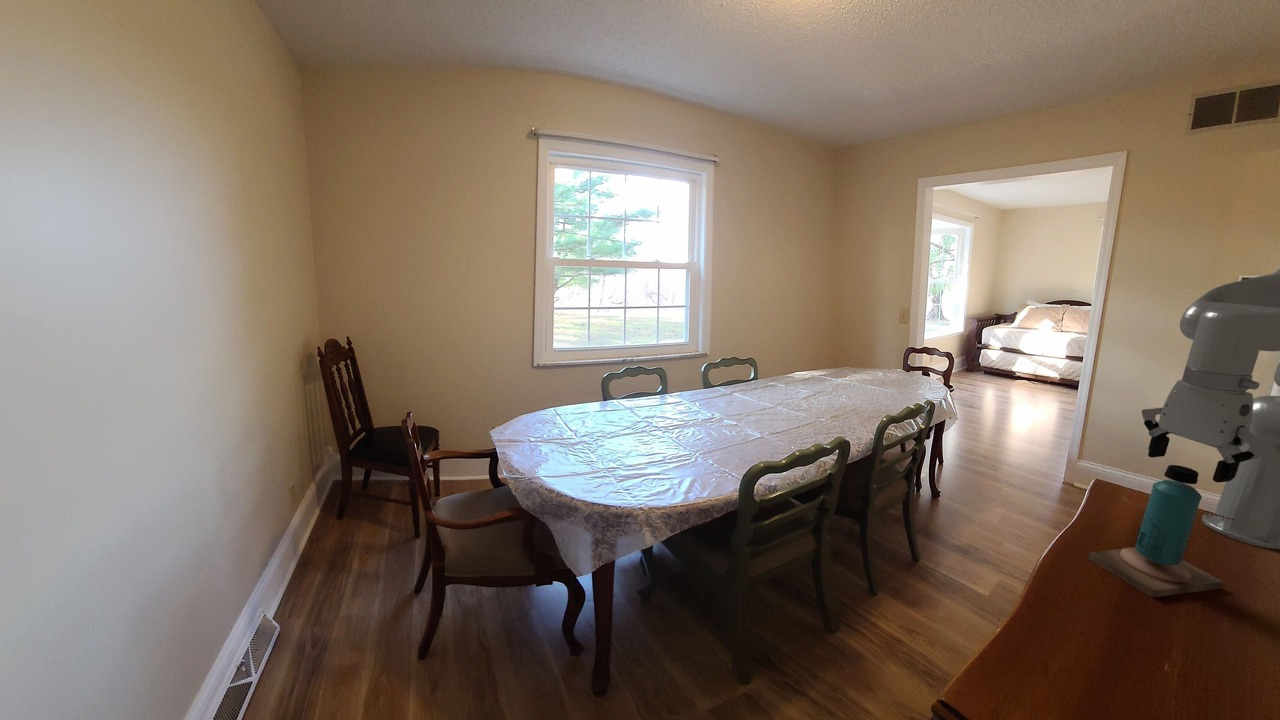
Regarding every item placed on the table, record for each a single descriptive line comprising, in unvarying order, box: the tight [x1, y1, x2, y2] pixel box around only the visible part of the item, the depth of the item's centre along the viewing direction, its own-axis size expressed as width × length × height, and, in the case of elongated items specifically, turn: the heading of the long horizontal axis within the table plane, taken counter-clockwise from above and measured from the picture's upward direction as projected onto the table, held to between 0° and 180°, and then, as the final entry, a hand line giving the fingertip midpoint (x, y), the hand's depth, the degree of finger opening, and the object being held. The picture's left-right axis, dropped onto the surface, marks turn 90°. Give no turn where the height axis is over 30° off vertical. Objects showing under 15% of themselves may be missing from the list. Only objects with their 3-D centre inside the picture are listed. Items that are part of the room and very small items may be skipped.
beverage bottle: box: [1134, 464, 1203, 565], centre depth 92 cm, size 6×7×20 cm
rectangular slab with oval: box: [1087, 547, 1224, 598], centre depth 94 cm, size 16×11×2 cm
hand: (1187, 468), depth 89 cm, fingers open, 9 cm apart
